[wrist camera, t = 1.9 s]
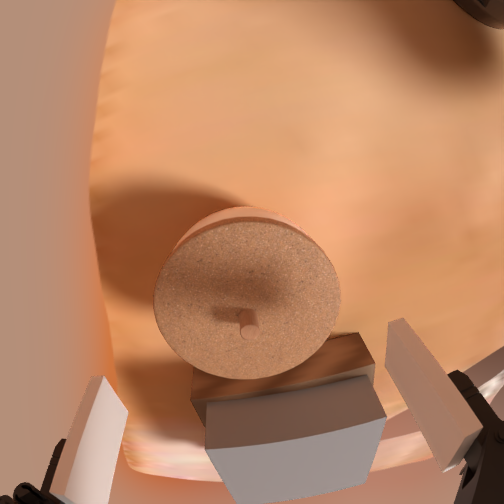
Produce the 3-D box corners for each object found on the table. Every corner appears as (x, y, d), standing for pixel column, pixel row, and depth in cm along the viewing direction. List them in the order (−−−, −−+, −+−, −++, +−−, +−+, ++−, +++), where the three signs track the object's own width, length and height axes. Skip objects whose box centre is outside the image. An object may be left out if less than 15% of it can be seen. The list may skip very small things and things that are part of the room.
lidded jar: (328, 207, 23) (381, 258, 15) (289, 323, 27) (311, 404, 18) (186, 175, 22) (157, 211, 13) (166, 302, 26) (143, 383, 17)
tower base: (357, 329, 29) (375, 363, 24) (352, 420, 35) (363, 450, 30) (194, 361, 29) (190, 399, 24) (232, 444, 35) (233, 475, 30)
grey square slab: (367, 374, 24) (386, 416, 20) (354, 450, 30) (364, 483, 25) (206, 402, 24) (204, 449, 20) (236, 470, 30) (238, 505, 25)
